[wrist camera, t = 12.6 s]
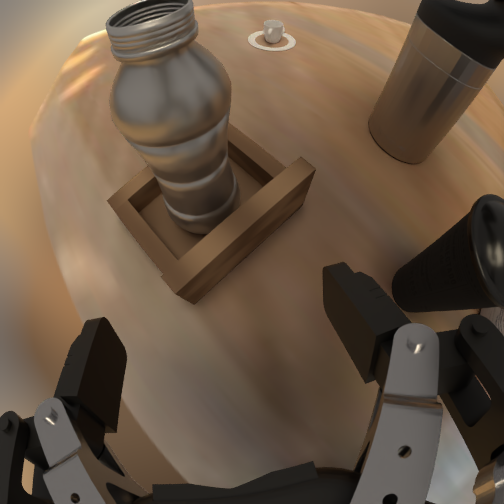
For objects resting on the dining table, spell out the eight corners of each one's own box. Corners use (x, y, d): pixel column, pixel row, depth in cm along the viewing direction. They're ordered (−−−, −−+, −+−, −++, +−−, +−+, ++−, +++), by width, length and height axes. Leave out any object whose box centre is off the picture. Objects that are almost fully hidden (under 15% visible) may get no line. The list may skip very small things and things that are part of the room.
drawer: (220, 136, 30) (215, 94, 23) (302, 205, 27) (316, 169, 21) (121, 215, 27) (92, 185, 21) (194, 304, 24) (175, 293, 18)
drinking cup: (366, 272, 25) (528, 158, 6) (417, 241, 26) (553, 135, 7) (399, 340, 23) (585, 317, 4) (447, 302, 24) (601, 246, 5)
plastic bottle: (239, 242, 26) (220, 32, 6) (167, 239, 26) (45, 68, 6) (243, 181, 27) (238, -20, 8) (177, 179, 27) (109, 0, 8)
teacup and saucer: (268, 27, 39) (269, 10, 35) (306, 41, 37) (309, 23, 33) (238, 43, 37) (237, 24, 33) (278, 58, 35) (280, 37, 31)
